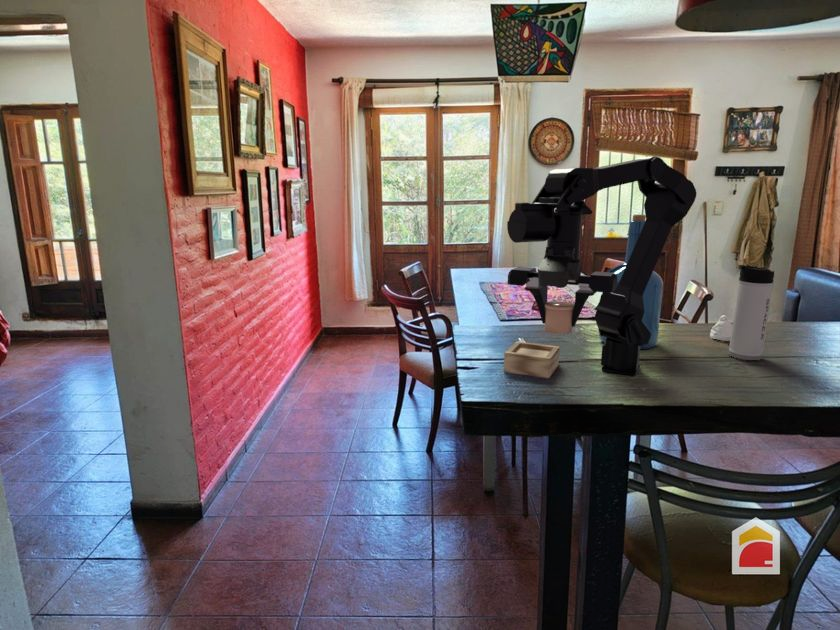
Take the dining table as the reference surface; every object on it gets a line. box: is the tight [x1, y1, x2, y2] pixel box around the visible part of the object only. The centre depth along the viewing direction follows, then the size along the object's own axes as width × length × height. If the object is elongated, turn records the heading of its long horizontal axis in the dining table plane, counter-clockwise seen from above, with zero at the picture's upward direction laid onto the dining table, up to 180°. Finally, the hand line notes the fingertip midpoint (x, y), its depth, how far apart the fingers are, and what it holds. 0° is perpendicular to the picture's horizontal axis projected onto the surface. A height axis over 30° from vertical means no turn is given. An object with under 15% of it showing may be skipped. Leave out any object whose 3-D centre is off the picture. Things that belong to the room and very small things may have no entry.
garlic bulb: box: [709, 315, 733, 341], centre depth 130 cm, size 6×6×6 cm
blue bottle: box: [598, 214, 664, 350], centre depth 124 cm, size 14×13×30 cm
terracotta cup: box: [544, 300, 575, 335], centre depth 99 cm, size 5×5×5 cm
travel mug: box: [728, 264, 775, 361], centre depth 114 cm, size 6×7×20 cm
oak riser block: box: [503, 341, 561, 379], centre depth 109 cm, size 9×9×4 cm
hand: (558, 324), depth 100 cm, fingers closed on terracotta cup, 5 cm apart
